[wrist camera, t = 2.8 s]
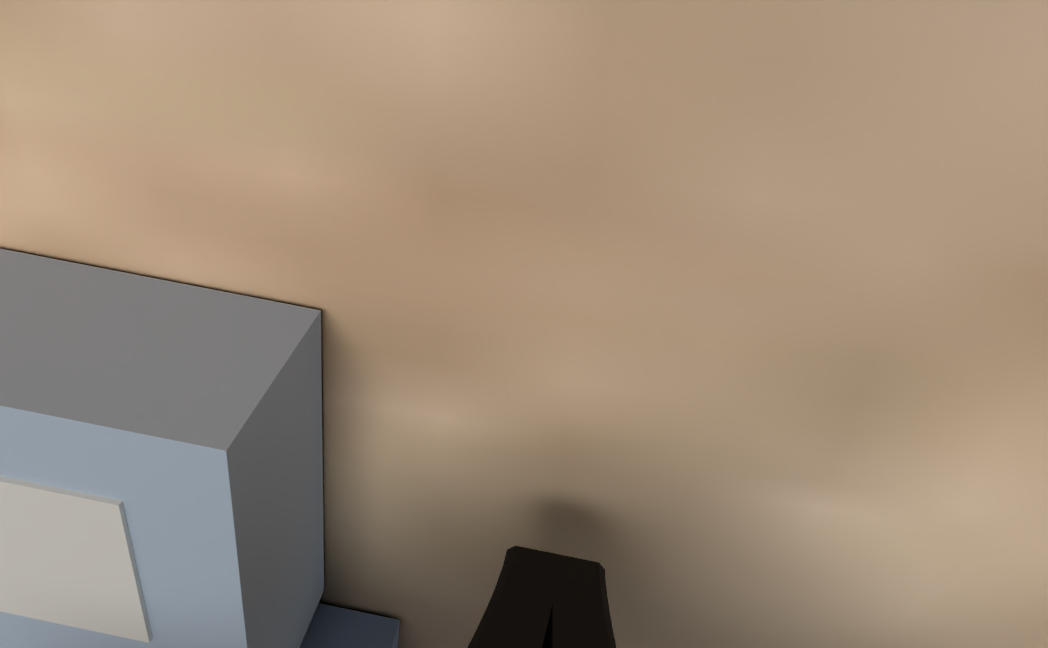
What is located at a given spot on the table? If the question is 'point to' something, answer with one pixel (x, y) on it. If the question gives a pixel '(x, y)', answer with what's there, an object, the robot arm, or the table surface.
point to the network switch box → (350, 629)
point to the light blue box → (155, 462)
